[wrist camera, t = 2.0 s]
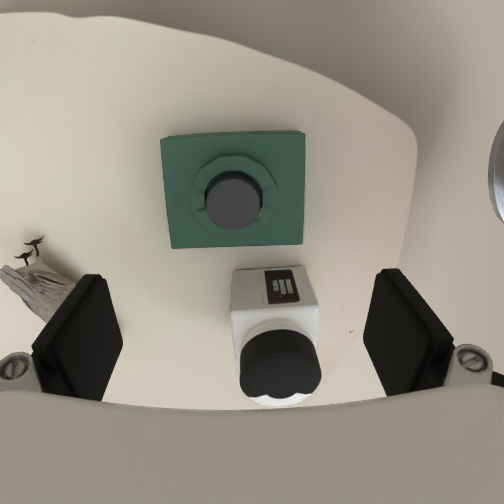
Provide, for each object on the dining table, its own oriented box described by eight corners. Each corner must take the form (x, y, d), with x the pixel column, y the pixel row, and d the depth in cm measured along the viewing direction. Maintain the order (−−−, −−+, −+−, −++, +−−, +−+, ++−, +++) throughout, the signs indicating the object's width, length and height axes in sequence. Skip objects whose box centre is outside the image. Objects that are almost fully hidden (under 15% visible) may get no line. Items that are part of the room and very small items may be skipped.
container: (231, 269, 33) (226, 356, 22) (305, 264, 33) (336, 348, 22) (237, 327, 37) (236, 418, 25) (304, 323, 37) (325, 411, 25)
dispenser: (299, 130, 28) (310, 135, 23) (297, 232, 32) (306, 254, 27) (167, 136, 27) (153, 141, 23) (177, 236, 32) (166, 258, 27)
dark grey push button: (258, 172, 25) (259, 178, 23) (259, 220, 26) (260, 229, 25) (207, 174, 25) (204, 180, 23) (210, 222, 26) (208, 231, 24)
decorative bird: (107, 341, 38) (88, 382, 31) (22, 252, 32) (-12, 282, 25) (132, 324, 36) (114, 366, 30) (41, 226, 31) (4, 254, 24)
